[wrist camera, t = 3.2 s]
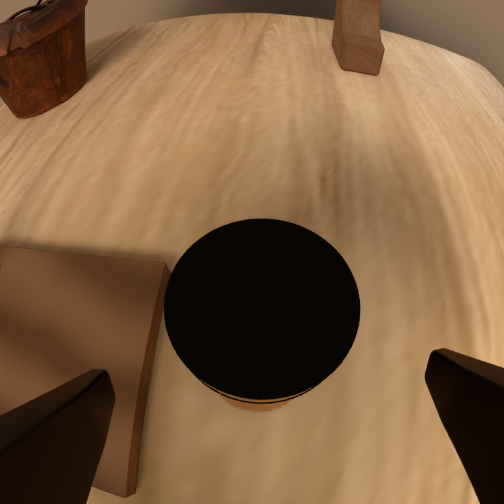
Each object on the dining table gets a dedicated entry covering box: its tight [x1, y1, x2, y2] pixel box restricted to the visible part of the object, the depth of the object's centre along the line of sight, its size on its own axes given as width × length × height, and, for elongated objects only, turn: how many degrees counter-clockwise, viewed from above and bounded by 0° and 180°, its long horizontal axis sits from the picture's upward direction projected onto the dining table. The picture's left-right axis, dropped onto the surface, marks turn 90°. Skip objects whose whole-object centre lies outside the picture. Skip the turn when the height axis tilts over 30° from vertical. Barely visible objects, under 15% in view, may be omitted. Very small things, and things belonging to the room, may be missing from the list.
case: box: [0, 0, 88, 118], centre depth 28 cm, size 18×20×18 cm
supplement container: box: [164, 219, 360, 412], centre depth 13 cm, size 6×6×9 cm
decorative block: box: [332, 0, 385, 76], centre depth 30 cm, size 11×6×20 cm, turn 174°
